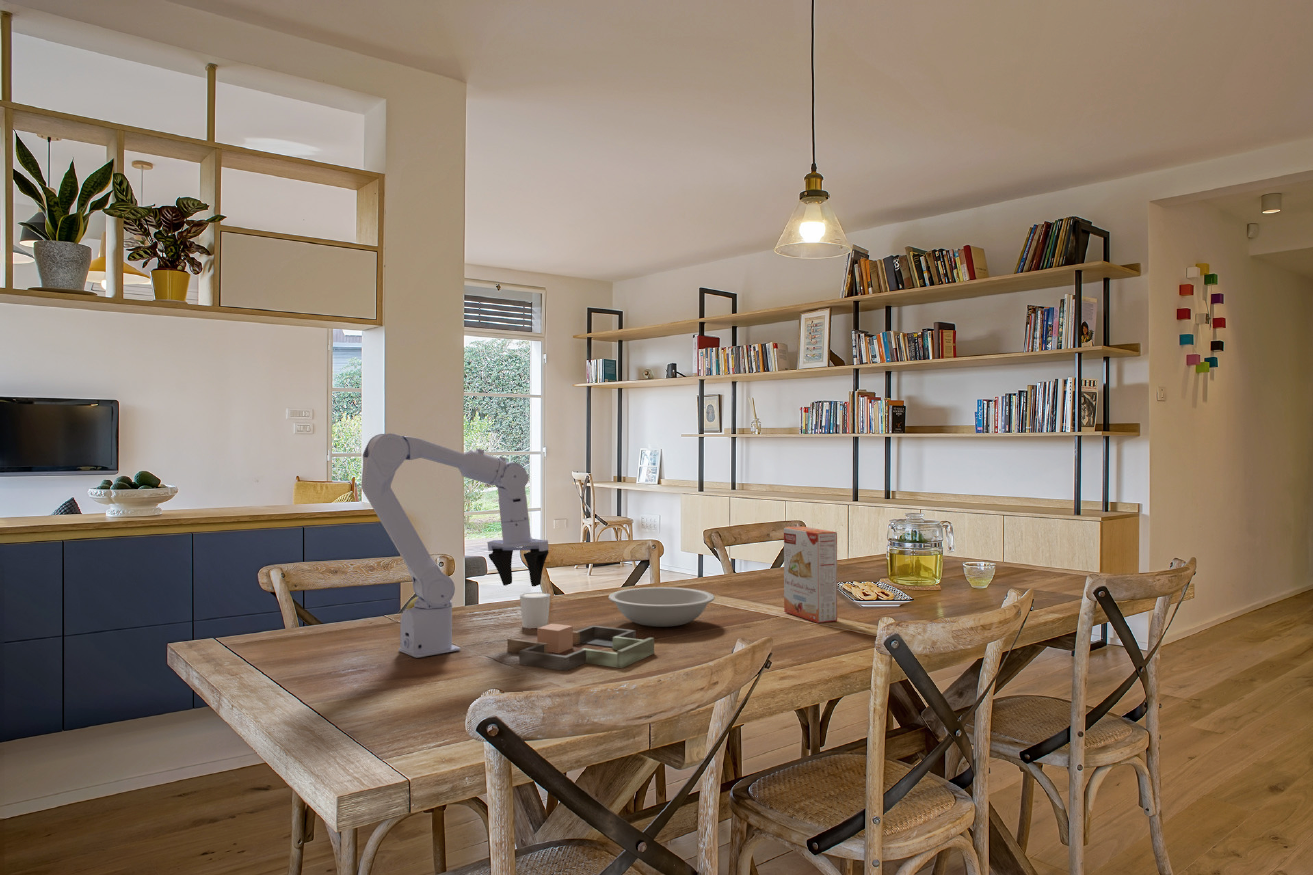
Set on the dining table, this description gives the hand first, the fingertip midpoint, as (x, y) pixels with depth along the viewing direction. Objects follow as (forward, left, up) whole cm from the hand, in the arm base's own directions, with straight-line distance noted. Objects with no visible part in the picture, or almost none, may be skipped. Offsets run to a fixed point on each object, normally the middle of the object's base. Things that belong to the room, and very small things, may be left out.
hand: (521, 584), depth 175 cm
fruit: (-12, +21, -12) cm, 26 cm away
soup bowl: (+32, -7, -12) cm, 35 cm away
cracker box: (+64, -24, -12) cm, 70 cm away
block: (+1, -10, -12) cm, 16 cm away
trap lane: (+3, -16, -12) cm, 20 cm away
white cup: (+10, +11, -12) cm, 19 cm away
